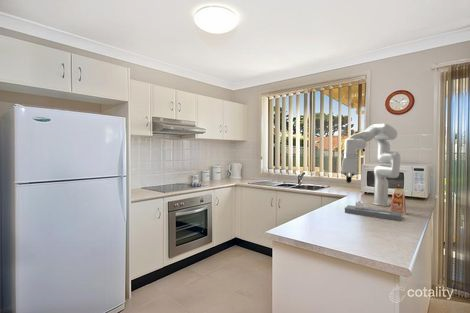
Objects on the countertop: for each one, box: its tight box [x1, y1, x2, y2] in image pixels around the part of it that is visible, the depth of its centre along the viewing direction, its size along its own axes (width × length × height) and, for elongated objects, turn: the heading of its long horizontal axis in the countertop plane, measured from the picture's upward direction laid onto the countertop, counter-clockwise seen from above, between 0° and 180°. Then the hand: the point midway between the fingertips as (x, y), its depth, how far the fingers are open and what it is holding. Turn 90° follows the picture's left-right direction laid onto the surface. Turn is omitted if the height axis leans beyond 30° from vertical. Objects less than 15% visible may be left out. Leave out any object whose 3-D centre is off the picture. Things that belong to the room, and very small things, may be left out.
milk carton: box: [389, 184, 407, 216], centre depth 176 cm, size 9×9×20 cm
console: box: [344, 204, 402, 222], centre depth 168 cm, size 12×32×3 cm, turn 56°
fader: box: [354, 200, 364, 209], centre depth 172 cm, size 5×4×4 cm
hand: (348, 182), depth 176 cm, fingers closed
